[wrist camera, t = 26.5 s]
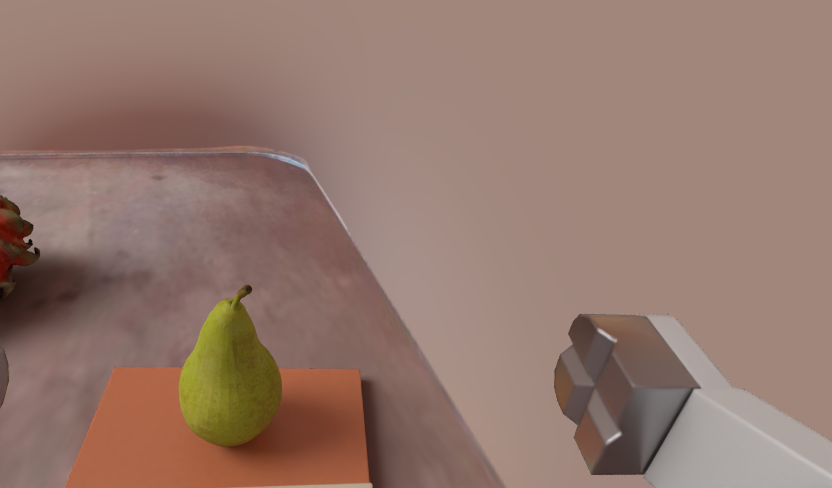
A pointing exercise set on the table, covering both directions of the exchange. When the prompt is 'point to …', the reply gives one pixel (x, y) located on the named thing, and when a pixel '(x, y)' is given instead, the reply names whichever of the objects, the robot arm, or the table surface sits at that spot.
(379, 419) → the table surface
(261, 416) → the fruit
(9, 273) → the dragon fruit
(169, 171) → the table surface
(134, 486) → the sorting board
